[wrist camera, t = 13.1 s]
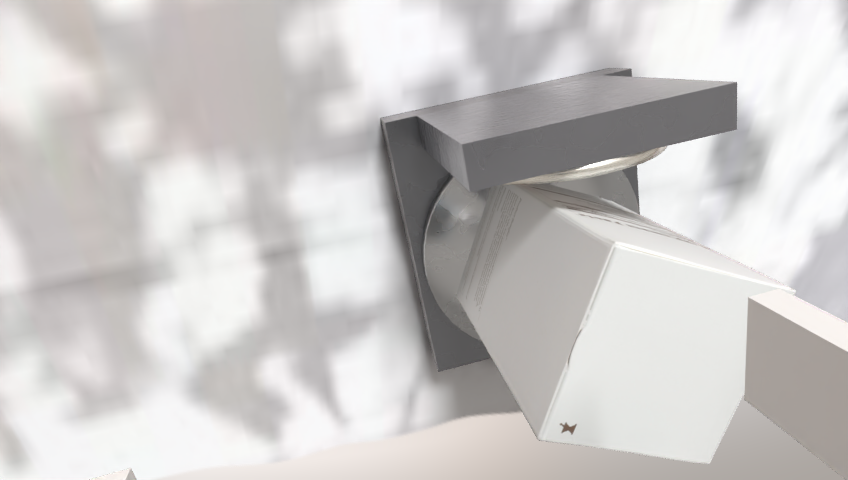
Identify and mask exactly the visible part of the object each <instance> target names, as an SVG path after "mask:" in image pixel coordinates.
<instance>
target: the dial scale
mask: <svg viewBox="0 0 848 480" xmlns="http://www.w3.org/2000/svg"><path fill="white" fill-rule="evenodd" d="M381 123H382V127H383V132H384V137H385V141H386V146H387V150H388V155H389V159H390V164H391V169H392V173H393V178H394V182H395V187H396V191H397V196H398V201H399V205H400V210H401V214H402V219H403V224H404V228H405V233H406V237H407V242H408V246H409V251H410V256H411V260H412V265H413V269H414V274H415V278H416V283H417V288H418V292H419V297H420V301H421V306H422V311H423V315H424V320H425V324H426V329H427V333H428V338H429V343H430V347H431V351H432V354H433V357H434V360H435V363H436V366H437V369H438V371H443V370H447V369H451V368H454V367H458V366H462V365H466V364H470V363H473V362H477V361H481V360H485V359H488V358H491V356H490V354H489V353H488V351H487V349H486V347H485V345H484V344H483V342H482V340H481V339H480V337H479V335H478V333H477V332H476V330H475V328H474V326H473V324H472V323H471V321H470V319H469V318H468V316H467V314H466V312H465V310H464V308H463V307H462V305H461V303H460V302H459V300H458V298H457V292H458V288H459V285H460V282H461V279H462V276H463V273H464V269H465V266H466V263H467V260H468V257H469V254H470V251H471V248H472V245H473V242H474V239H475V236H476V233H477V230H478V226H479V223H480V220H481V217H482V214H483V211H484V208H485V205H486V202H487V199H488V196H489V192H490V189H491V187H494V186H498V185H530V184H545V183H546V184H550V185H553V186H557V187H561V188H565V189H569V190H572V191H576V192H580V193H584V194H588V195H591V196H595V197H599V198H603V199H606V200H610V201H613V202H615V203H617V204H619V205H621V206H623V207H625V208H627V209H629V210H631V211H633V212H635V213H637V214H639V215H640V212H639V196H638V178H637V165H638V164H641V163H644V162H646V161H648V160H650V159H652V158H654V157H656V156H658V155H659V154H661V153H662V152H663V151H664V150H665V149H666V147H667V146H668V145H672V144H677V143H681V142H685V141H689V140H694V139H698V138H702V137H707V136H711V135H715V134H719V133H724V132H728V131H732V130H736V129H737V82H724V81H704V80H685V79H665V78H645V77H632V73H631V69H620V68H607V69H602V70H598V71H593V72H589V73H584V74H579V75H575V76H570V77H566V78H561V79H557V80H552V81H547V82H543V83H538V84H534V85H529V86H524V87H520V88H515V89H511V90H506V91H502V92H497V93H492V94H488V95H483V96H479V97H474V98H470V99H465V100H460V101H456V102H451V103H447V104H442V105H437V106H433V107H428V108H424V109H419V110H415V111H410V112H405V113H401V114H396V115H392V116H387V117H382V118H381Z"/></svg>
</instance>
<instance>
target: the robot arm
mask: <svg viewBox="0 0 848 480" xmlns="http://www.w3.org/2000/svg"><path fill="white" fill-rule="evenodd" d="M744 400H745V401H747V402H748V403H749V404H751V405H752V406H753V407H754V408H756V409H757V410H758V411H760V412H761V413H762V414H763V415H764V416H766V417H767V418H768V419H770V420H771V421H772V422H773V423H775V424H776V425H777V426H778V427H780V428H781V429H782V430H783V431H785V432H786V433H787V434H788V435H790V436H791V437H792V438H794V439H795V440H796V441H797V442H798V443H800V444H801V445H802V446H803V447H805V448H806V449H807V450H808V451H810V452H811V453H812V454H814V455H815V456H816V457H817V458H819V459H820V460H821V461H822V462H824V463H825V464H826V465H828V466H829V467H830V468H831V469H832V470H834V471H835V472H836V473H837V474H839V475H840V476H841V477H843V478H844V479H845V480H848V322H846V321H844V320H842V319H840V318H838V317H835V316H833V315H831V314H829V313H827V312H825V311H823V310H821V309H819V308H817V307H815V306H813V305H811V304H809V303H807V302H805V301H803V300H801V299H799V298H797V297H795V296H793V295H791V294H789V293H787V292H785V291H783V290H781V289H776V290H772V291H768V292H765V293H761V294H758V295H754V296H750V297H748V315H747V341H746V368H745V395H744ZM89 480H136V478H135V476H134V473H133V471H132V469H131V468H129V469H125V470H121V471H118V472H114V473H110V474H107V475H103V476H100V477H96V478H92V479H89Z"/></svg>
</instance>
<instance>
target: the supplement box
mask: <svg viewBox="0 0 848 480" xmlns="http://www.w3.org/2000/svg"><path fill="white" fill-rule="evenodd" d="M776 289H781V290H783V291H785V292H787V293H789V294H791V295H793V296H794V295H795V293H796V291H795V290H794V289H792V288H790V287H788V286H786V285H784V284H782V283H780V282H778V281H776V280H774V279H772V278H770V277H768V276H766V275H764V274H762V273H760V272H758V271H756V270H754V269H752V268H750V267H748V266H746V265H744V264H742V263H740V262H737V261H735V260H733V259H731V258H729V257H727V256H725V255H723V254H721V253H718V252H716V251H714V250H712V249H710V248H708V247H706V246H704V245H702V244H700V243H698V242H695V241H693V240H691V239H689V238H687V237H685V236H683V235H681V234H679V233H677V232H674V231H672V230H670V229H668V228H666V227H664V226H662V225H660V224H658V223H656V222H654V221H652V220H650V219H648V218H646V217H644V216H641V215H639V214H637V213H635V212H633V211H631V210H629V209H627V208H625V207H623V206H621V205H619V204H617V203H615V202H613V201H610V200H606V199H603V198H599V197H595V196H591V195H588V194H584V193H580V192H576V191H572V190H569V189H565V188H561V187H557V186H553V185H550V184H546V183H545V184H530V185H498V186H494V187H491V189H490V192H489V196H488V199H487V202H486V205H485V208H484V211H483V214H482V217H481V220H480V223H479V226H478V230H477V233H476V236H475V239H474V242H473V245H472V248H471V251H470V254H469V257H468V260H467V263H466V266H465V269H464V273H463V276H462V279H461V282H460V285H459V288H458V292H457V298H458V300H459V302H460V303H461V305H462V307H463V308H464V310H465V312H466V314H467V316H468V318H469V319H470V321H471V323H472V324H473V326H474V328H475V330H476V332H477V333H478V335H479V337H480V339H481V340H482V342H483V344H484V345H485V347H486V349H487V351H488V353H489V354H490V356H491V358H492V360H493V361H494V363H495V365H496V367H497V368H498V370H499V372H500V374H501V375H502V377H503V379H504V381H505V382H506V384H507V386H508V388H509V389H510V391H511V393H512V395H513V396H514V398H515V400H516V402H517V404H518V405H519V407H520V409H521V411H522V412H523V414H524V416H525V418H526V420H527V421H528V423H529V425H530V426H531V428H532V430H533V432H534V434H535V436H536V437H537V439H538V440H539V441H546V442H555V443H563V444H571V445H579V446H587V447H594V448H601V449H609V450H617V451H623V452H629V453H637V454H642V455H649V456H654V457H661V458H667V459H673V460H679V461H686V462H696V463H704V464H710V462H711V460H712V458H713V455H714V453H715V451H716V449H717V447H718V445H719V443H720V441H721V439H722V437H723V435H724V433H725V431H726V429H727V427H728V425H729V423H730V421H731V419H732V417H733V415H734V413H735V411H736V409H737V407H738V405H739V403H740V401H741V399H742V397H743V394H744V393H745V368H746V341H747V315H748V297H750V296H754V295H758V294H761V293H765V292H768V291H772V290H776Z"/></svg>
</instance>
